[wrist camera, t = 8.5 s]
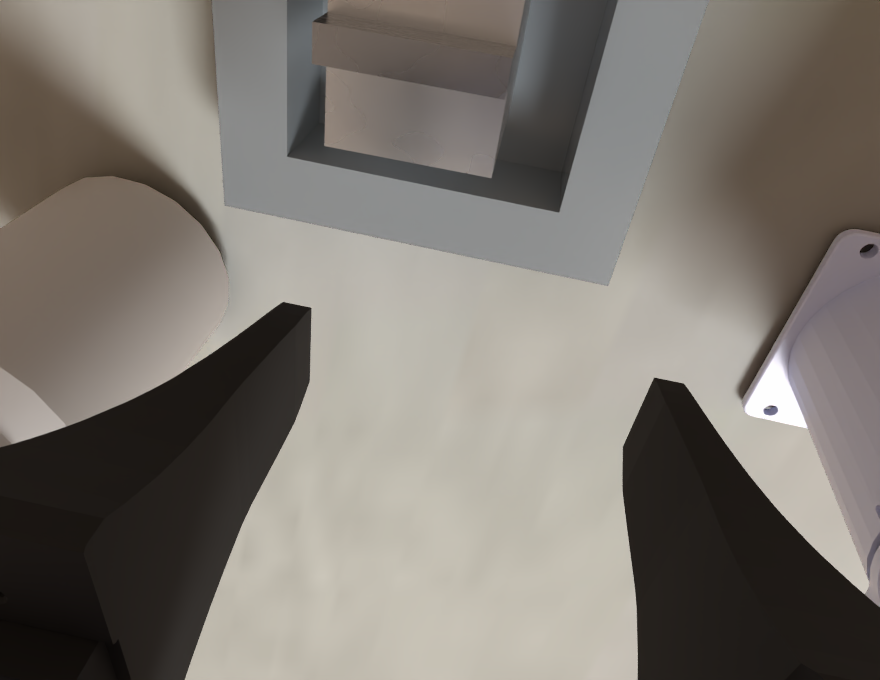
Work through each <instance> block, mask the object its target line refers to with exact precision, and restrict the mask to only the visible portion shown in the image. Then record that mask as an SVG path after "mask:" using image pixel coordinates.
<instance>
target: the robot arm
mask: <svg viewBox="0 0 880 680" xmlns="http://www.w3.org/2000/svg"><path fill="white" fill-rule="evenodd" d="M868 244H874V246H873V248H872V249H871V250H870V251H868V252H865V253H860V250H861V249H862V248H863V247H864V246H865V245H868ZM310 342H311V308H309V307H304V306H300V305H295V304H290V303H285V302H283V303H281V304H279V305H278V306H277V307H275V308H274V309H272V310H271V311H270V312H268V313H267V314H266V315H264V316H263V317H262V318H260V319H259V320H258V321H256V322H255V323H254V324H252V325H251V326H250V327H248V328H247V329H246V330H244V331H243V332H242V333H240V334H239V335H238V336H236V337H235V338H233V339H232V340H230V341H229V342H228V343H226V344H225V345H223V346H222V347H220V348H219V349H218V350H216V351H215V352H213V353H212V354H210V355H209V356H207V357H206V358H204V359H203V360H201V361H199V362H198V363H196V364H195V365H193V366H191V367H190V368H188V369H187V370H185V371H183V372H182V373H180V374H179V375H177V376H175V377H174V378H172V379H170V380H168V381H167V382H165V383H163V384H161V385H159V386H158V387H156V388H154V389H152V390H150V391H148V392H146V393H144V394H142V395H140V396H138V397H136V398H134V399H132V400H129V401H127V402H125V403H123V404H120V405H118V406H116V407H113V408H111V409H109V410H106V411H104V412H101V413H99V414H97V415H94V416H92V417H90V418H87V419H85V420H82V421H80V422H77V423H74V424H72V425H69V426H66V427H63V428H61V429H58V430H55V431H52V432H49V433H46V434H43V435H40V436H37V437H34V438H31V439H27V440H24V441H21V442H18V443H14V444H11V445H7V446H3V447H0V680H185V677H186V674H187V671H188V668H189V665H190V662H191V659H192V656H193V653H194V650H195V648H196V645H197V642H198V639H199V636H200V634H201V631H202V628H203V625H204V622H205V620H206V617H207V614H208V611H209V608H210V606H211V603H212V600H213V598H214V595H215V593H216V590H217V587H218V585H219V582H220V579H221V577H222V574H223V571H224V569H225V566H226V563H227V561H228V558H229V556H230V553H231V551H232V548H233V546H234V543H235V541H236V538H237V536H238V533H239V531H240V528H241V526H242V523H243V521H244V519H245V517H246V515H247V513H248V511H249V508H250V506H251V504H252V502H253V501H254V499H255V497H256V495H257V493H258V491H259V489H260V487H261V485H262V483H263V482H264V480H265V478H266V476H267V474H268V472H269V470H270V468H271V466H272V465H273V463H274V461H275V459H276V457H277V455H278V453H279V451H280V449H281V447H282V445H283V444H284V442H285V440H286V438H287V436H288V434H289V432H290V430H291V428H292V426H293V424H294V422H295V420H296V417H297V414H298V412H299V409H300V407H301V404H302V401H303V398H304V395H305V393H306V390H307V387H308V384H309V381H310ZM770 405H774V407H773V408H770V409H765V407H767V406H770ZM742 406H743V409H744V412H745V413H746V414H747V415H750V416H753V417H758V418H762V419H767V420H772V421H776V422H781V423H785V424H790V425H795V426H799V427H804V428H808V430H809V433H810V435H811V438H812V440H813V443H814V445H815V448H816V450H817V453H818V455H819V458H820V460H821V463H822V465H823V468H824V470H825V473H826V475H827V478H828V480H829V483H830V485H831V488H832V490H833V492H834V495H835V497H836V500H837V502H838V505H839V507H840V510H841V512H842V515H843V517H844V520H845V522H846V525H847V527H848V530H849V532H850V535H851V537H852V540H853V542H854V545H855V547H856V550H857V552H858V555H859V557H860V560H861V562H862V565H863V567H864V570H865V572H866V575H867V577H868V580H869V588H868V590H867V592H866V593H865V594H863V593H862V592H861V591H860V590H859V589H858V588H856V587H855V586H854V585H853V584H852V583H851V582H850V581H849V580H847V579H846V578H845V577H844V576H843V575H842V574H841V573H840V572H839V571H838V570H837V569H835V568H834V567H833V566H832V565H831V564H830V563H829V562H828V561H827V560H826V559H825V558H824V557H822V556H821V555H820V554H819V553H818V552H817V551H816V550H815V549H814V548H813V547H812V546H811V545H810V544H809V543H808V542H807V541H806V540H805V539H804V538H803V536H802V535H801V534H800V533H799V532H798V531H797V530H796V529H795V528H794V527H793V526H792V525H791V524H790V523H789V522H788V521H787V520H786V519H785V517H784V516H783V515H782V514H781V513H780V512H779V511H778V510H777V508H776V507H775V506H774V505H773V504H772V503H771V502H770V500H769V499H768V498H767V497H766V496H765V494H764V493H763V492H762V491H761V489H760V488H759V487H758V486H757V485H756V483H755V482H754V481H753V480H752V478H751V477H750V476H749V475H748V473H747V472H746V471H745V469H744V468H743V467H742V465H741V464H740V463H739V462H738V460H737V459H736V457H735V456H734V455H733V453H732V452H731V451H730V449H729V448H728V447H727V445H726V444H725V442H724V441H723V440H722V438H721V437H720V435H719V434H718V432H717V431H716V430H715V428H714V427H713V425H712V424H711V422H710V421H709V419H708V418H707V416H706V415H705V413H704V412H703V411H702V409H701V408H700V406H699V405H698V403H697V402H696V400H695V399H694V397H693V396H692V394H691V393H690V392H689V390H688V389H687V387H686V386H685V385H684V384H683V383H678V382H673V381H668V380H663V379H658V378H654V379H653V382H652V384H651V386H650V388H649V390H648V393H647V395H646V397H645V399H644V401H643V404H642V406H641V408H640V410H639V413H638V415H637V417H636V419H635V421H634V424H633V426H632V428H631V430H630V432H629V435H628V437H627V439H626V441H625V444H624V446H623V497H624V506H625V514H626V522H627V530H628V537H629V545H630V552H631V560H632V568H633V575H634V583H635V592H636V604H637V635H638V680H880V234H879V233H874V232H869V231H864V230H860V229H849V230H846V231H843V232H842V233H840V234H838V235H837V237H836V238H835V239H834V240H833V242H832V244H831V246H830V247H829V249H828V251H827V253H826V254H825V256H824V258H823V260H822V261H821V263H820V265H819V267H818V268H817V270H816V272H815V274H814V275H813V277H812V279H811V281H810V282H809V284H808V286H807V288H806V289H805V291H804V293H803V294H802V296H801V298H800V300H799V301H798V303H797V305H796V307H795V308H794V310H793V312H792V314H791V315H790V317H789V319H788V321H787V322H786V324H785V326H784V328H783V329H782V331H781V333H780V335H779V336H778V338H777V340H776V342H775V343H774V345H773V347H772V349H771V350H770V352H769V354H768V356H767V357H766V359H765V361H764V363H763V364H762V366H761V368H760V370H759V371H758V373H757V375H756V377H755V378H754V380H753V382H752V383H751V385H750V387H749V389H748V390H747V392H746V394H745V396H744V397H743V400H742Z"/></svg>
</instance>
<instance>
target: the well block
mask: <svg viewBox="0 0 880 680" xmlns="http://www.w3.org/2000/svg"><path fill="white" fill-rule="evenodd" d="M708 2H709V0H531V6H530V11H529V16H528V21H527V26H526V31H525V36H524V42H523V47H522V52H521V57H520V62H519V67H518V72H517V78H516V83H515V88H514V93H513V98H512V103H511V106H510V110H509V114H508V118H507V122H506V125H505V129H504V133H503V137H502V140H501V144H500V148H499V152H498V155H497V159H496V163H495V167H494V170H493V174H492V178H488V177H482V176H477V175H472V174H467V173H462V172H457V171H451V170H446V169H441V168H436V167H431V166H425V165H420V164H415V163H410V162H405V161H400V160H394V159H389V158H384V157H379V156H374V155H369V154H363V153H358V152H353V151H348V150H343V149H337V148H332V147H327V146H324V140H325V98H326V66H320V65H315V64H312V21H314V20H316V19H317V18H319V17H320V16H322V15H324V14H325V13H327V12H328V0H212V15H213V30H214V46H215V62H216V78H217V93H218V109H219V125H220V140H221V156H222V172H223V188H224V203H225V206H229V207H234V208H239V209H244V210H248V211H253V212H258V213H263V214H268V215H272V216H277V217H282V218H287V219H291V220H296V221H301V222H306V223H310V224H315V225H320V226H325V227H329V228H334V229H339V230H344V231H348V232H353V233H358V234H363V235H368V236H372V237H377V238H382V239H387V240H391V241H396V242H401V243H406V244H410V245H415V246H420V247H425V248H429V249H434V250H439V251H444V252H448V253H453V254H458V255H463V256H467V257H472V258H477V259H482V260H487V261H491V262H496V263H501V264H506V265H510V266H515V267H520V268H525V269H529V270H534V271H539V272H544V273H548V274H553V275H558V276H563V277H567V278H572V279H577V280H582V281H587V282H591V283H596V284H601V285H606V286H608V285H609V282H610V279H611V277H612V274H613V271H614V268H615V265H616V262H617V260H618V257H619V254H620V251H621V248H622V246H623V243H624V240H625V237H626V234H627V231H628V229H629V226H630V223H631V220H632V217H633V214H634V212H635V209H636V206H637V203H638V200H639V197H640V195H641V192H642V189H643V186H644V183H645V180H646V178H647V175H648V172H649V169H650V166H651V163H652V161H653V158H654V155H655V152H656V149H657V147H658V144H659V141H660V138H661V135H662V132H663V130H664V127H665V124H666V121H667V118H668V115H669V113H670V110H671V107H672V104H673V101H674V98H675V96H676V93H677V90H678V87H679V84H680V81H681V79H682V76H683V73H684V70H685V67H686V64H687V62H688V59H689V56H690V53H691V50H692V48H693V45H694V42H695V39H696V36H697V33H698V31H699V28H700V25H701V22H702V19H703V16H704V14H705V11H706V8H707V5H708Z"/></svg>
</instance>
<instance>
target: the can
mask: <svg viewBox="0 0 880 680" xmlns="http://www.w3.org/2000/svg"><path fill="white" fill-rule="evenodd" d="M228 304H229V277H228V274H227V271H226V268H225V266H224V263H223V260H222V257H221V254H220V251H219V250H218V248H217V247H216V245H215V244H214V243H213V241H212V240H211V238H210V237H209V235H208V234H207V232H206V231H205V229H204V228H203V226H202V225H201V224H200V223H199V222H198V221H197V220H196V219H194V218H193V217H192V216H191V215H190V214H189V213H188V212H187V211H186V210H185V209H183V208H182V207H181V206H180V205H179V204H178V203H177V202H176V201H174V200H172V199H171V198H169V197H167V196H165V195H163V194H161V193H160V192H158V191H156V190H154V189H152V188H151V187H149V186H147V185H145V184H142V183H138V182H134V181H130V180H127V179H123V178H119V177H115V176H104V177H86V178H83V179H80V180H78V181H76V182H74V183H72V184H70V185H68V186H66V187H64V188H62V189H61V190H59V191H57V192H56V193H54V194H53V195H51V196H50V197H48V198H47V199H45V200H44V201H42V202H40V203H39V204H37V205H36V206H34V207H33V208H31V209H30V210H28V211H27V212H25V213H24V214H22V215H20V216H19V217H17V218H16V219H14V220H13V221H11V222H10V223H8V224H7V225H5V226H3V227H2V228H0V447H3V446H7V445H11V444H14V443H18V442H21V441H24V440H27V439H31V438H34V437H37V436H40V435H43V434H46V433H49V432H52V431H55V430H58V429H61V428H63V427H66V426H69V425H72V424H74V423H77V422H80V421H82V420H85V419H87V418H90V417H92V416H94V415H97V414H99V413H101V412H104V411H106V410H109V409H111V408H113V407H116V406H118V405H120V404H123V403H125V402H127V401H129V400H132V399H134V398H136V397H138V396H140V395H142V394H144V393H146V392H148V391H150V390H152V389H154V388H156V387H158V386H159V385H161V384H163V383H165V382H167V381H168V380H170V379H172V378H174V377H175V376H177V375H179V374H180V373H182V372H183V371H184V370H185V369H186V368H187V366H188V365H189V364H190V362H191V361H192V360H193V358H194V357H195V356H196V354H197V353H198V352H199V351H200V349H201V348H202V347H203V345H204V344H205V343H206V341H207V340H208V339H209V337H210V336H211V335H212V333H213V332H214V331H215V330H216V328H217V327H218V326H219V324H220V323H221V321H222V318H223V316H224V314H225V311H226V309H227V307H228Z"/></svg>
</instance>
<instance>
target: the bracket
mask: <svg viewBox="0 0 880 680" xmlns="http://www.w3.org/2000/svg"><path fill="white" fill-rule="evenodd" d="M530 6H531V0H328V12H327V13H325V14H324V15H322V16H320V17H319V18H317V19H316V20H314V21H312V64H315V65H320V66H326V98H325V140H324V146H327V147H332V148H337V149H343V150H348V151H353V152H358V153H363V154H369V155H374V156H379V157H384V158H389V159H394V160H400V161H405V162H410V163H415V164H420V165H425V166H431V167H436V168H441V169H446V170H451V171H457V172H462V173H467V174H472V175H477V176H482V177H488V178H492V174H493V170H494V167H495V163H496V159H497V155H498V152H499V148H500V144H501V140H502V137H503V133H504V129H505V125H506V122H507V118H508V114H509V110H510V106H511V103H512V98H513V93H514V88H515V83H516V78H517V72H518V67H519V62H520V57H521V52H522V47H523V42H524V36H525V31H526V26H527V21H528V16H529V11H530Z"/></svg>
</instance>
